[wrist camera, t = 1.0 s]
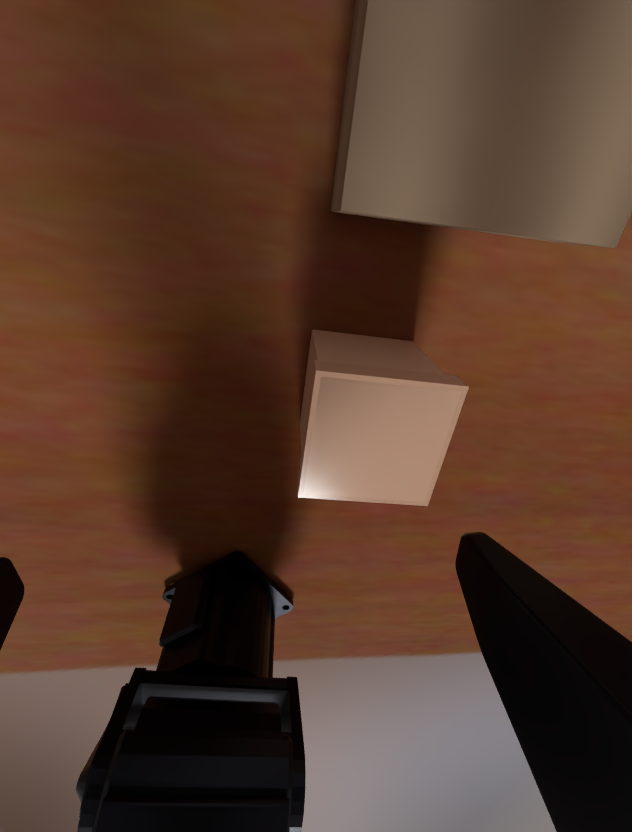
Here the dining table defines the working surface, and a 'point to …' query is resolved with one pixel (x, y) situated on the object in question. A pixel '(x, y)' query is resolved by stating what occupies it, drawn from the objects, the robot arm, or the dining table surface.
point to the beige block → (490, 117)
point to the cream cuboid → (374, 420)
